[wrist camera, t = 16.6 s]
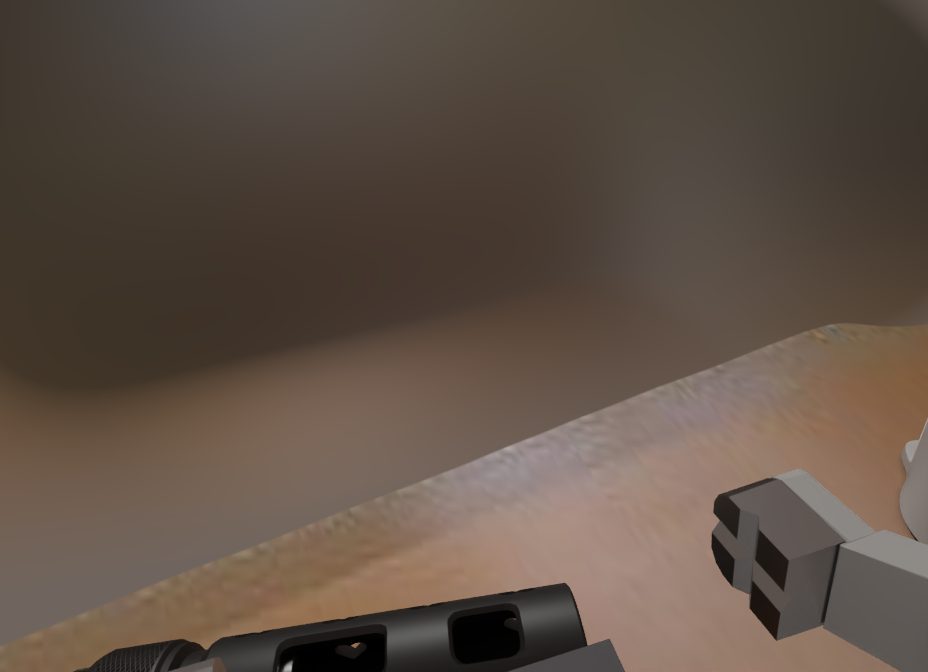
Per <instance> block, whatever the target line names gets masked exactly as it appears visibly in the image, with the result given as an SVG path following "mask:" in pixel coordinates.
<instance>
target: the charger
mask: <svg viewBox="0 0 928 672" xmlns="http://www.w3.org/2000/svg"><path fill="white" fill-rule="evenodd" d="M508 672H625V671H624V669H623V666H622V664H621V662H620V660H619V658H618V656H617V654H616V651H615V649H614V647H613V645H612V643H611V641H610V639H607V640H604V641H601V642H598V643H595V644H592V645H589V646H586V647H583V648H579V649H576V650H573V651H570V652H567V653H564V654H561V655H558V656H555V657H552V658H548V659H545V660H542V661H539V662H536V663H533V664H530V665H527V666H524V667H521V668H517V669H514V670H511V671H508Z"/></svg>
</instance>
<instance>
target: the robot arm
mask: <svg viewBox="0 0 928 672" xmlns="http://www.w3.org/2000/svg"><path fill="white" fill-rule="evenodd" d="M902 461H903V464H904V467H905V470H906V473H907V477H906V480H905V483H904V485H903V487H902V490H901V493H900V508H901V512H902V515H903V518H904V520H905V522H906V524H907V526H908V527H909V529H910V531H911V532H912V533H913V535H914V536H915V537H916V539H917V540H918V541H919V542H918V541H915V540H912V539H910V538H907V537H904V536H901V535H898V534H895V533H892V532H889V531H887V530H881V531H878V532H876V531H874V530H873V529H872V528H871V527H870V526H869V525H867V524H866V523H865V522H864V521H863V520H862V519H861V518H859V517H858V516H857V515H856V514H855V513H854V512H852V511H851V510H850V509H849V508H848V507H847V506H845V505H844V504H843V503H842V502H841V501H840V500H839V499H837V498H836V497H835V496H834V495H833V494H832V493H830V492H829V491H828V490H827V489H826V488H825V487H824V486H822V485H821V484H820V483H819V482H818V481H817V480H815V479H814V478H813V477H812V476H811V475H810V474H808V473H807V472H806V471H803V470H800V469H796V470H793V471H790V472H787V473H784V474H781V475H777V476H774V477H772V478H767V479H764V480H761V481H758V482H755V483H752V484H749V485H746V486H743V487H740V488H737V489H734V490H731V491H728V492H725V493H722V494H719V495H718V497H717V498H716V500H715V501H714V511H713V513H714V514H715V515H716V516H717V517H718V518H719V520H720V521H719V523H718V524H717V526H716V527H715V528H714V530H713V531H712V546H711V547H712V550H713V554H714V557H715V560H716V563H717V565H718V567H719V569H720V570H721V572H722V574H723V575H724V577H725V578H726V579H727V581H728V582H729V583H730V584H731V586H732V587H734V588H736V589H738V590H741V591H743V592H745V593H747V594H749V606H750V609H751V610H752V612H753V613H754V614H755V615H756V617H757V618H758V619H759V620H760V621H761V623H762V624H763V625H764V626H765V628H766V629H767V630H768V631H769V632H770V634H771V635H772V636H773V637H774V638H775V640H776V641H777V640H780V639H783V638H786V637H789V636H792V635H795V634H798V633H801V632H804V631H807V630H810V629H813V628H816V627H819V626H822V625H824V627H823V628H824V629H826V630H828V631H830V632H832V633H833V634H835V635H837V636H839V637H840V638H842V639H844V640H846V641H848V642H849V643H851V644H853V645H855V646H857V647H858V648H860V649H862V650H864V651H865V652H867V653H869V654H871V655H873V656H874V657H876V658H878V659H880V660H882V661H883V662H885V663H887V664H889V665H890V666H892V667H894V668H896V669H898V670H899V671H901V672H928V419H927V422H926V424H925V426H924V429H923V431H922V434H921V436H920V439H919V440H913V441H910V442H908V443H907V444H906V445H905V448H904V450H903V452H902ZM168 672H227V670H226V668H225V666H224V665H223V663H222V661H221V659H220V657H217V658H212V659H209V660H206V661H202V662H199V663H195V664H192V665H189V666H185V667H182V668H179V669H175V670H172V671H168Z"/></svg>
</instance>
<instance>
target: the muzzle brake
mask: <svg viewBox="0 0 928 672" xmlns="http://www.w3.org/2000/svg"><path fill="white" fill-rule="evenodd" d="M513 618H514V619H513ZM515 619H516V620H515ZM355 643H360V644H359V645H358V646H357V647H356V648H354V647H352V646H351V645H352V644H355ZM586 646H587V641H586V637H585V633H584V629H583V626H582V622H581V618H580V615H579V611H578V608H577V605H576V602H575V599H574V596H573V594H572V591H571V589H570V587H569V586H568V585H567V584H566V583H561V584H555V585H548V586H542V587H536V588H530V589H523V590H519V591H517V592H513V591H511V592H505V593H498V594H492V595H486V596H480V597H473V598H467V599H461V600H455V601H448V602H442V603H436V604H432V605H429V606H417V607H411V608H405V609H398V610H392V611H386V612H380V613H373V614H367V615H361V616H355V617H349V618H346V619H336V620H330V621H323V622H317V623H311V624H305V625H298V626H292V627H286V628H280V629H273V630H267V631H263V632H261V633H249V634H242V635H236V636H230V637H223V638H220V639H219V640H217V641H216V642H215V643H213V644H212V645H211V646H210V648H209V649H208V650H205V649H204V648H203V647H202V646H201V645H200V644H197V643H195V642H190V641H187V640H184V639H178V640H171V641H165V642H159V643H152V644H146V645H140V646H134V647H127V648H121V649H116V650H114V651H112V652H110V653H108V654H107V655H105V656H103V657H102V658H100V659H99V660H98V661H96V662H95V663H94V664H93V665H92V666H91V667H89V668H83V669H78V670H75V671H74V672H168V671H172V670H175V669H179V668H182V667H185V666H189V665H192V664H195V663H199V662H202V661H206V660H209V659H212V658H217V657H220V659H221V661H222V663H223V665H224V666H225V668H226V670H227V672H508V671H511V670H514V669H517V668H521V667H524V666H527V665H530V664H533V663H536V662H539V661H542V660H545V659H548V658H552V657H555V656H558V655H561V654H564V653H567V652H570V651H573V650H576V649H579V648H583V647H586Z"/></svg>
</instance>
